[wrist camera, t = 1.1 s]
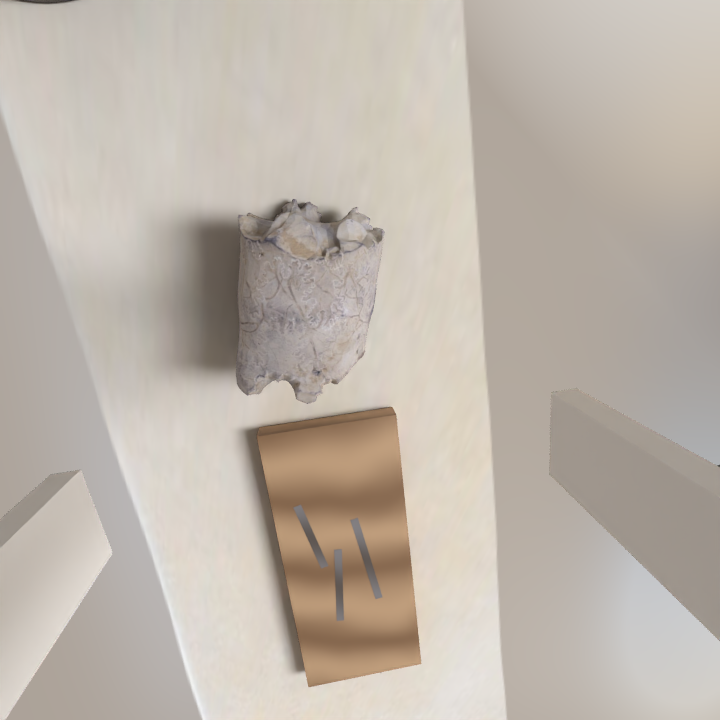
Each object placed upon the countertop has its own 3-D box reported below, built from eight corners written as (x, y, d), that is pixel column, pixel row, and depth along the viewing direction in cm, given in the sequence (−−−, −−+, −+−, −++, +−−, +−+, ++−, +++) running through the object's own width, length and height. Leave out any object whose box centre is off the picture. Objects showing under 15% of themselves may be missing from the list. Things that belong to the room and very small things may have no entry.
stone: (243, 374, 28) (223, 411, 22) (252, 196, 25) (232, 175, 19) (355, 383, 29) (368, 420, 23) (375, 213, 26) (398, 200, 20)
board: (259, 427, 29) (256, 436, 28) (392, 407, 30) (396, 414, 29) (308, 669, 36) (308, 687, 34) (416, 647, 36) (421, 664, 35)
